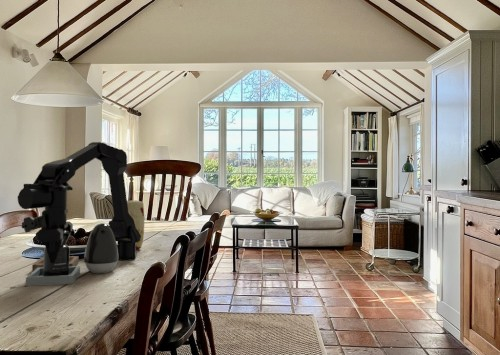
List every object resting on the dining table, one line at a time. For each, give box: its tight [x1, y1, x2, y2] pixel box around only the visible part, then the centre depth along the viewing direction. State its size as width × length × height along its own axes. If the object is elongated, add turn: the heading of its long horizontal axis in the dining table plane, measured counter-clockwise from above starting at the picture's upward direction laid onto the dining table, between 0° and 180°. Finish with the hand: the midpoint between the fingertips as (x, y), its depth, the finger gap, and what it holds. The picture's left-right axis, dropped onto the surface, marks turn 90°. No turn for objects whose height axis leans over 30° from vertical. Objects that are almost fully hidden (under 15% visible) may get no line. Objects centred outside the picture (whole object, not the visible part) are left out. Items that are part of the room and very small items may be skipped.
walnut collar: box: [31, 255, 80, 273], centre depth 133 cm, size 11×11×2 cm
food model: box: [127, 199, 145, 251], centre depth 166 cm, size 10×7×20 cm
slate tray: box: [25, 265, 81, 287], centre depth 119 cm, size 12×12×2 cm
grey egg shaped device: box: [83, 222, 120, 275], centre depth 129 cm, size 10×10×15 cm
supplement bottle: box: [43, 236, 71, 276], centre depth 119 cm, size 7×7×12 cm
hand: (55, 260), depth 119 cm, fingers closed on supplement bottle, 7 cm apart
